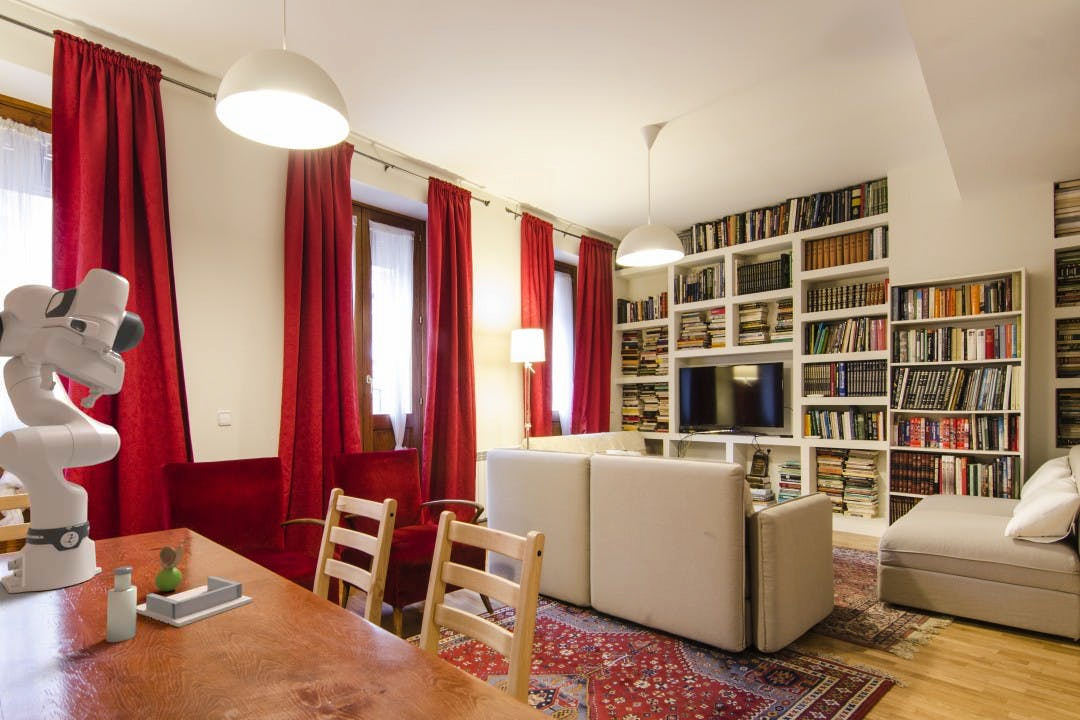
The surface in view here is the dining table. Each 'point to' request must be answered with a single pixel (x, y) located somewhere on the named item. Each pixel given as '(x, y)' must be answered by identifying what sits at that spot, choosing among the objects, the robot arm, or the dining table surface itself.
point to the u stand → (195, 602)
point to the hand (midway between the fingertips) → (66, 398)
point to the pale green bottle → (121, 607)
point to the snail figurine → (169, 569)
